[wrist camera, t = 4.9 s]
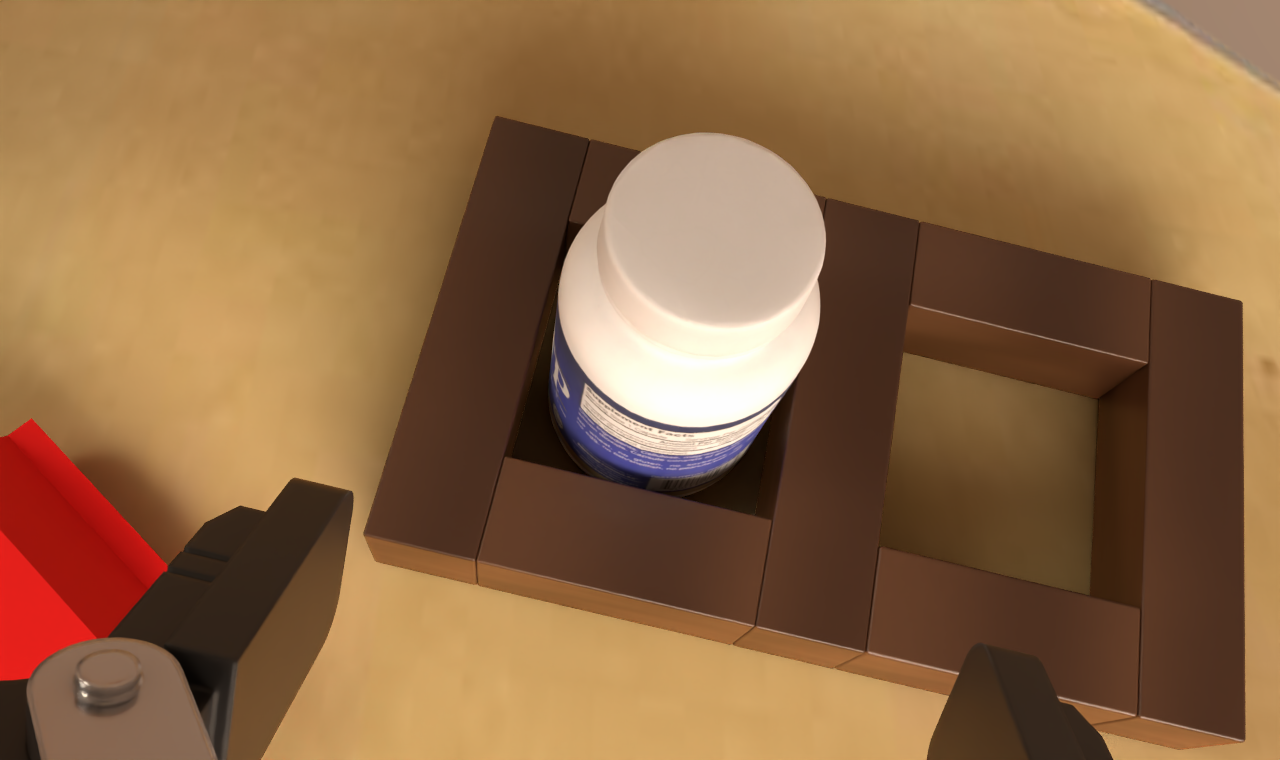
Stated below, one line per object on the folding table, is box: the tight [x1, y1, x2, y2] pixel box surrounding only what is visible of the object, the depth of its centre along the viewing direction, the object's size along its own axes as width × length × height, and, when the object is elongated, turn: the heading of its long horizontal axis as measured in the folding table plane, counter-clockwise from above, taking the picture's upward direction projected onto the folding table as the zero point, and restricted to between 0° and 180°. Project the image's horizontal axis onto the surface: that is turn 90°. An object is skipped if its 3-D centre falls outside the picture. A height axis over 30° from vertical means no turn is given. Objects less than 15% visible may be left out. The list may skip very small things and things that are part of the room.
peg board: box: [364, 116, 1245, 750], centre depth 27 cm, size 19×11×2 cm, turn 78°
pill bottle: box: [548, 132, 826, 497], centre depth 24 cm, size 5×5×9 cm
